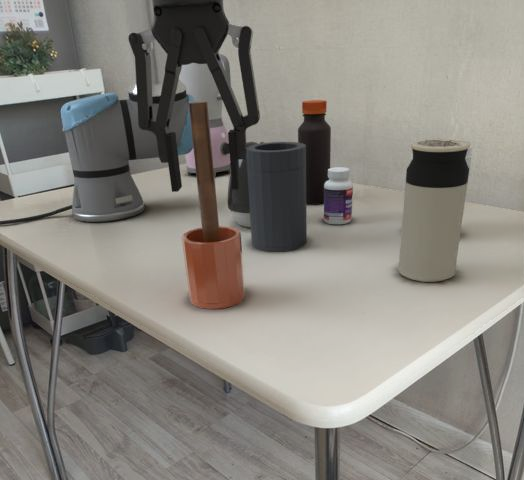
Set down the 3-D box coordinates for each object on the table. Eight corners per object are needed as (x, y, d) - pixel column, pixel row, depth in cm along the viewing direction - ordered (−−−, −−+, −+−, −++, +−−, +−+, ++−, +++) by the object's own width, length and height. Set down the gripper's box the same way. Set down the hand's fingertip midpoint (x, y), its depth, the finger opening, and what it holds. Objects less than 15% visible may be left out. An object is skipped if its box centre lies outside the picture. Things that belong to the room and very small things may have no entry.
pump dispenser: (289, 218, 106) (287, 137, 99) (268, 233, 98) (264, 146, 91) (244, 214, 110) (238, 136, 103) (219, 229, 102) (212, 145, 95)
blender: (178, 176, 148) (161, 43, 132) (205, 167, 157) (192, 42, 141) (223, 180, 140) (211, 40, 125) (249, 171, 149) (241, 39, 133)
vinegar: (326, 205, 113) (327, 102, 104) (295, 204, 115) (293, 103, 106) (332, 197, 119) (334, 99, 109) (303, 196, 121) (302, 100, 111)
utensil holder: (250, 252, 90) (243, 153, 82) (253, 235, 98) (248, 143, 90) (307, 251, 89) (306, 150, 81) (306, 233, 97) (305, 140, 89)
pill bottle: (350, 225, 100) (352, 172, 95) (322, 225, 101) (322, 172, 96) (352, 217, 105) (354, 166, 100) (325, 217, 106) (325, 166, 101)
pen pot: (185, 309, 71) (177, 244, 67) (195, 287, 78) (187, 226, 73) (242, 308, 71) (237, 243, 66) (246, 286, 77) (242, 225, 73)
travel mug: (421, 287, 73) (435, 150, 65) (387, 269, 80) (396, 142, 71) (466, 276, 76) (486, 143, 67) (430, 259, 82) (444, 136, 74)
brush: (198, 299, 72) (175, 104, 60) (203, 286, 76) (182, 101, 64) (231, 298, 72) (214, 103, 60) (234, 285, 75) (219, 99, 64)
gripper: (79, -35, 53) (121, 198, 64) (277, -49, 51) (284, 192, 63) (102, -27, 59) (137, 184, 71) (279, -39, 58) (285, 178, 69)
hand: (206, 187), depth 67 cm, fingers open, 7 cm apart
